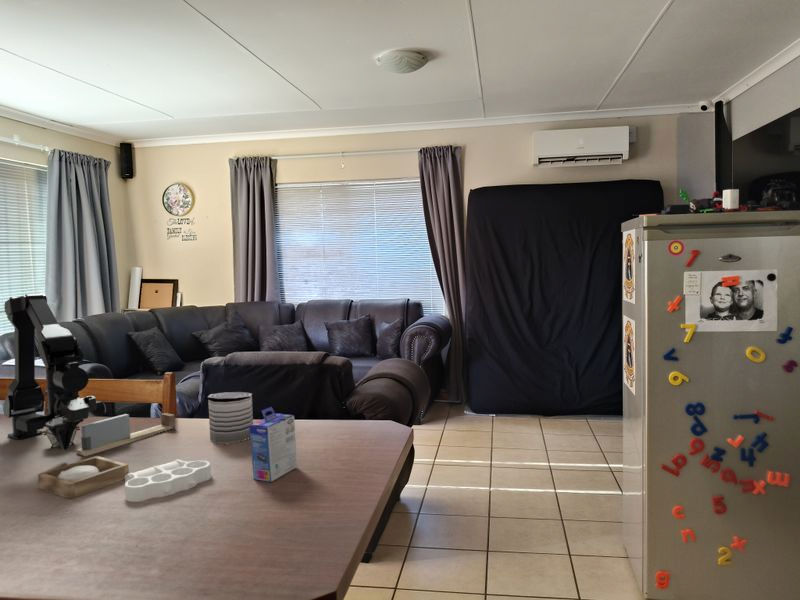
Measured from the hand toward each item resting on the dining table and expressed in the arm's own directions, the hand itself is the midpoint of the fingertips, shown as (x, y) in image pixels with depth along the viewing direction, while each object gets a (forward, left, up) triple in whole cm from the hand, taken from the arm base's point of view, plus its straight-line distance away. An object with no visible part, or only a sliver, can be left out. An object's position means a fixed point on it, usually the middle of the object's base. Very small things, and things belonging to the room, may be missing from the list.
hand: (65, 449), depth 142 cm
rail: (0, +17, -2) cm, 17 cm away
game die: (-12, +6, -3) cm, 14 cm away
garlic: (+18, -7, -3) cm, 20 cm away
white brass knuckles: (+36, +2, -3) cm, 36 cm away
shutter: (0, +11, -1) cm, 11 cm away
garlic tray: (+19, -6, -2) cm, 20 cm away
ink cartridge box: (+52, +18, -3) cm, 55 cm away
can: (+23, +32, -3) cm, 39 cm away
